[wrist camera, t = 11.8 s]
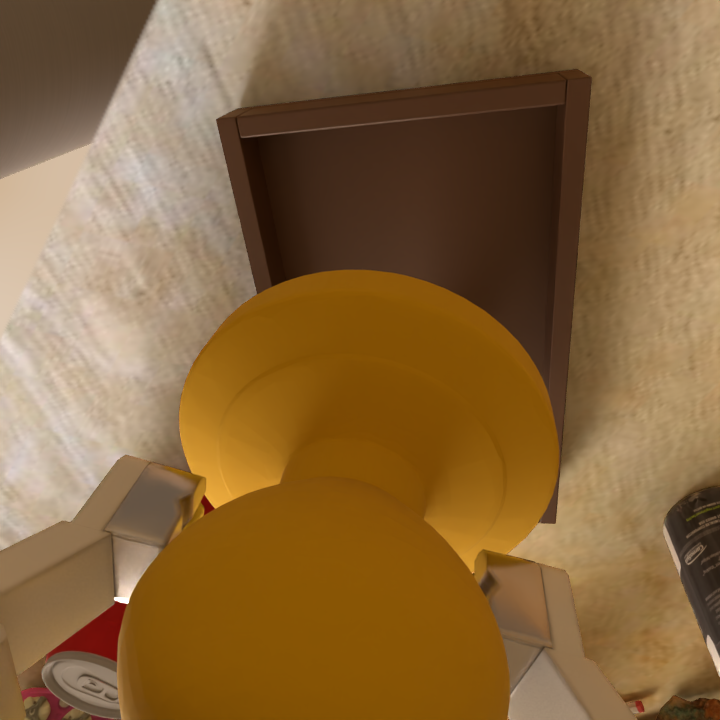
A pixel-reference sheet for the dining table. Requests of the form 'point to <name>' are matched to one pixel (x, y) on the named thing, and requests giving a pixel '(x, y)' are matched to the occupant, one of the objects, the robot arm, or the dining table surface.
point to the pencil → (636, 707)
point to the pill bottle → (699, 559)
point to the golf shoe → (51, 707)
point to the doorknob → (343, 511)
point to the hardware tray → (428, 198)
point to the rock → (690, 709)
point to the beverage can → (91, 662)
